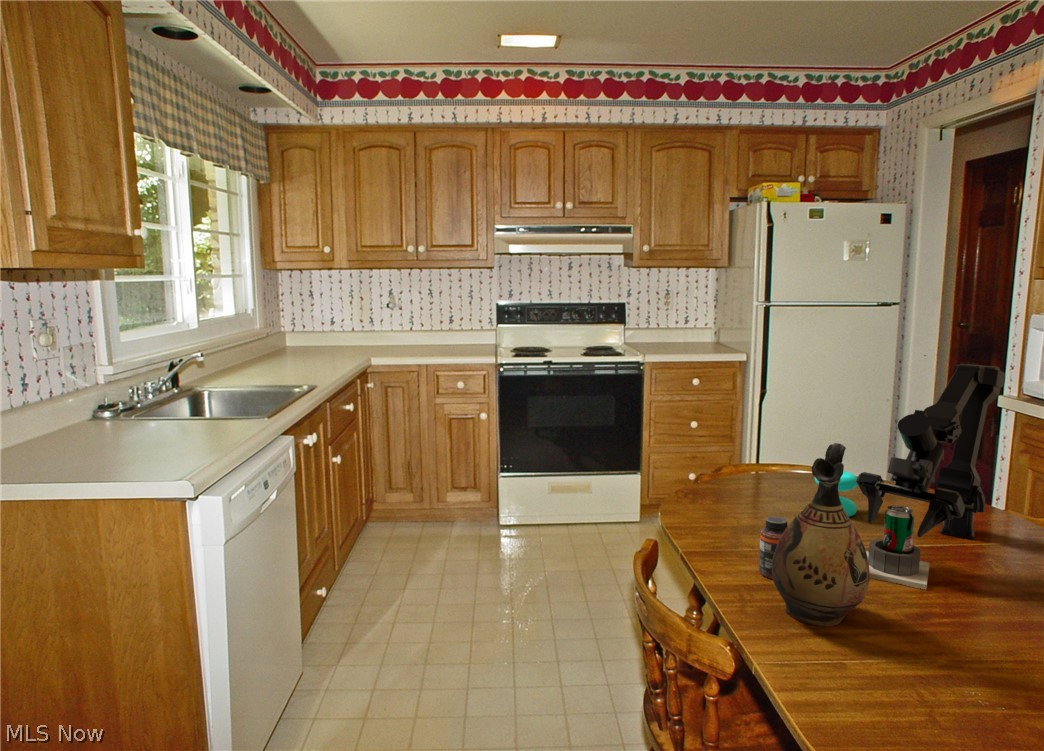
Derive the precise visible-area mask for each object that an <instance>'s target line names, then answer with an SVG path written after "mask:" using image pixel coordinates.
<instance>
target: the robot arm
mask: <svg viewBox="0 0 1044 751" xmlns="http://www.w3.org/2000/svg"><path fill="white" fill-rule="evenodd" d="M1005 382H1006V374H1005V372H1004V371H1001V369H1000V367H999V366H993V365H981V364H980V365H979V364H967V363H960V364H956V365H954V368H953V372H952V376H951V378H950V379H949V381H948V383H947V384H946V386H945V388H944V390H943V392H942V393H941V394H940V396H939V398H938V400H937V401H936V402H935V403H934V404H932V405H930V406H927V407H925V408H924V409H923V410H922V409H921V410H919V409H915V410H914V412H913V413H910V414H907V415H905V416H903V417H902V418H901V419H900V420H898V422H897V423H898V424H897V429H898V431H899V434H900V436H901V439H902V441H903V443H904V446H905V447H906V449H908V450H909V452H908V454H907V456H906V459H905V458H899V457H894V456H891V457H890V460H889V465H888V469H887V473H888V474H891V477H890V478H891V480H892V482H895V484H891V483H888V482H885V481H884V480H883V477H882V476H881V475H880V474H876V473H871V472H866V471H863V472H861V473H860V474H858V476H857V480H856V482H857V484H858V485H857V487H859V489H860V491H861V493H862V495H864V496H865V497H866V499H867V504H868V505H867V506H868V508H867V522H868V524H869V525H872V524H873V522H874V521H875V520H876V518H877V516H878V513H879V511H880V510H881V507H882V505H883V503H884V501H883V499H882V498H884V497H885V495H886V494H890V495H894V496H898V497H903V498H906V499H911V500H916V501H920V502H923V503H928V509H927V511H926V513H925V515H924V516H923V519H922V521H921V522H920V524H919V527H918V530H917V534H916V536H917V537H918V538H921V537H923V536H924V535H926V534H927V533H928V532H929V531H931V530H932V529H933V528H935V527H936V526H938V525H939V524H940V534H943V535H949V536H956V537H961V538H966V539H975V528H974V527H973V526H974V516H975V515H974V514H977V513H985V509H986V508H985V507H986V497H985V494H984V492H983V489H982V487H981V481H982V480H981V478H980V475H979V473H978V471H977V469H976V463H977V459H978V455H979V450H980V445H981V439H982V435H983V430H984V425H985V420H986V417H987V411H988V408H989V405H990V404H991V403H993V402H994V401H995V400H996V399H997V398H998V397H999V395H1000V393H1001V388H1003V387H1004V385H1005ZM954 442H955V443H954ZM941 443H944V444H950V445H951V444H953V443H954V448H953V451H952V456H951V459H950V462H949V463H948V464H946V466H944V465H943V466H942V467H941V468H940V469H939V475H938V478H937V479H936V478H935V474H936V473H937V471H938V468H939V466H940V462H943V461H944V459H945V456H944V453H945V449H944V447H943V445H942V444H941ZM932 484H933V485H934V489H933V490H934V493H933V492H929V490H930V487H931V486H932Z"/></svg>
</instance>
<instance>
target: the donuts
mask: <svg viewBox="0 0 1044 751" xmlns="http://www.w3.org/2000/svg"><path fill="white" fill-rule="evenodd" d="M857 478H858V476H856V475H855V474H854V473H852V472H848V471H845V470H843V475H842V476H841V478H840V482H839V485H838V492H848V491H851V490H855V489H856V488H857V487H858V484H857V482H856V480H857ZM814 482H815V483H816V484H817V485H818V486H819V481H818V480H817V479H816V478H815V477H814ZM839 499H840V501H841V503H842V507H843V508H844V510H845V512H846V513H847V515H848V516H849V518H850V517H852V516H854V515H856V513H857V511H858V506H857V505H856V503H854V502H853V501H852V500H851V499H850V498H847V497H845V496H840V495H839Z"/></svg>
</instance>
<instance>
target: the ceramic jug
mask: <svg viewBox="0 0 1044 751" xmlns="http://www.w3.org/2000/svg"><path fill="white" fill-rule="evenodd" d="M845 451H846V447H845V446H844V444H841V443H839V442H838V443H837V442H835V443H833V444H829V445H828V447H827V448H826V451H825V454H824V456H825V458H820V457H819V458H815V460H814V462H813V464H812V466H811V473H812V476H813V477H814V479H815V478H816V479H817V480H818V481H819V485H818V487H817V491H816V493H815V494H814V497H813V499H812V500H811V501H810V502H809V503H808V504H807V505H806V506H804V507H803V508H802V510H801V511H800V512H798V513H797V515H796V516H795V517H794V518H793V519H792V520H791V521H790V523H789V524H788V525H787V526H788V527H787V528H786V529H785V531H784V532H783V534H782V535H781V537H780V539H779V541H778V544H777V546H776V549H775V552H774V555H773V559H772V576H773V579H772V580H773V584H774V586H775V588H776V590H777V592H778V593H779V595H780V597H781V598H782V599H783V601H784V603H785V609H784V611H785V613H786V614H787V615H789V616H791V617H792V618H794V619H795V620H796V621H798V622H800V623H803V624H806V625H808V626H811V625H812V626H813V625H816V626H818V627H834V626H836V625H839V624H840V623H841V622H842V621H843V619H844V618H845V617H846V616H847V615H848V614H849V613H850V612H852V611H853V610H854V609H855V608H857V606H859V605H860V604H861V603H862V602H863V601H864V599H865V597H866V596H865V595H866V593H867V592H868V589H869V584H870V579H871V578H870V573H869V572H870V570H869V561H868V558H867V553H866V551H867V550H866V547H865V545H864V543H863V539H862V538H861V536H860V535H859V532H858V531H857V528H856V526H855V525H854V522H853V521H852V520H851V518H850V517H849V516H848V515H847V513H846V512H845V510H844V508H843V507H842V503H841V501H840V499H839V496H840V494H839V491H838V485H839V482H840V478H841V476H842V475H843V471H845V470H844V468H845V467H844V466H845V465H844V464H843V459H844V455H845Z"/></svg>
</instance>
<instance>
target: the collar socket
mask: <svg viewBox="0 0 1044 751" xmlns="http://www.w3.org/2000/svg"><path fill="white" fill-rule="evenodd" d="M882 548H883V538H877V539H876V538H875V539H873V540H870V541H869V545H868V550H866V553H867V558H868V561H869V570H870V572H869V573H870V579H872V578H873V579H874V580H877V581H881V580H882V582H886V581H888V582H887V583H891V582H892V583H891V584H896V583H898V584H897V585H900V584H902V585H901V586H905V585H906V587H910V588H916V589H920V588H921V590H924V589H925V590H924V591H926V590H927V589H928V580H929V572H930V562H929V561H923V560H921V549H920V548H918V547H917V546H916V545H913V544H912V553H911V554H896V553H890V552H886V551H884V550H882Z"/></svg>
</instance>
